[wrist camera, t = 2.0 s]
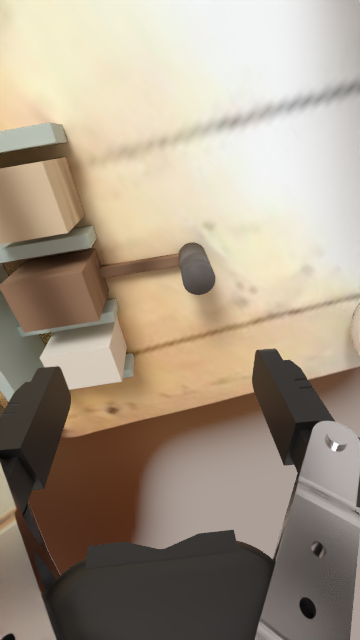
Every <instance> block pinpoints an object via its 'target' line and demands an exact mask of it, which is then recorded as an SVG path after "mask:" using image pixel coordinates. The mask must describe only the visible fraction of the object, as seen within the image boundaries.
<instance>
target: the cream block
mask: <svg viewBox="0 0 360 640" xmlns="http://www.w3.org/2000/svg"><path fill="white" fill-rule="evenodd" d="M126 350H127V346H126V343H125V340H124V337H123V334H122V330H121V327H120V324H119V321H118V318H117V316H116V321H115V322H111V323H105V324H98V325H92V326H86V327H80V328H74V329H67V330H61V331H55V332H53V334H52V336H51V338H50V340H49V341H48V343H47V345H46V347H45V349H44V351H43V353H42V354H41V356H40V360H41V362H42V363H43V365H44V367H55V366H59V367H60V368H61V370H62V372H63V375H64V378H65V380H66V383H67V386H68V389H69V390H71V389H78V388H84V387H90V386H97V385H103V384H109V383H116V382H122V378H123V371H124V364H125V357H126Z"/></svg>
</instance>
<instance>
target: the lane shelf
mask: <svg viewBox="0 0 360 640" xmlns="http://www.w3.org/2000/svg"><path fill="white" fill-rule="evenodd" d="M66 142H67V139H66V136H65V133H64V130H63V127H62V125H61V124H55V123H45V124H39V125H34V126H28V127H22V128H17V129H11V130H5V131H0V154H3V153H8V152H14V151H20V150H26V149H31V148H37V147H43V146H49V145H54V144H60V143H66ZM96 239H97V236H96V233H95V230H94V227H93V226H88V227H82V228H76V229H71V230H70V231H69V232H68V233H65V234H59V235H53V236H47V237H42V238H36V239H30V240H24V241H18V242H12V243H6V244H0V284H1V283H2V282H4V281H5V280H6V279H7V278H8V277H9V275H8V273H7V271H6V270H5V268H4V266H3V264H2V263H3V262H9V261H15V260H21V259H27V258H33V257H39V256H45V255H51V254H57V253H63V252H69V251H75V250H81V249H87V248H91V247H92V245H93V244H94V242H95V240H96ZM118 308H119V307H118V304H117V301H116V298H114V299H108V300H106V301H105V304H104V307H103V310H102V314H101V317H100V320H99V321H94V322H88V323H82V324H76V325H70V326H63V327H57V328H51V329H45V330H38V331H32V332H26V333H24V331H23V329H22V327H21V326H20V324H19V322H18V320H17V318H16V317H15V315H14V313H13V311H12V309H11V308H10V306H9V304H8V302H7V301H6V299H5V297H4V295H3V293H2V292H1V290H0V391H1V392H2V394H3V395H4V396H5V398H6V399H7V401H8V402H9V401H10V399H11V397H12V395H13V394H14V392H15V391H16V390H17V389H18V388H19V387H20V386H22V385H23V384H24V383H25V382H31V380H32V378H33V376H34V374H35V372H36V371H37V369H38V368H43V367H44V365H43V363H42V362H41V360H40V356H41V354H42V353H43V351H44V349H45V347H46V346H45V344H44V342H43V340H42V338H41V336H40V334H43V333H49V332H55V331H61V330H67V329H74V328H80V327H86V326H92V325H98V324H105V323H111V322H115V321H116V316H117V312H118ZM134 363H135V359H134V356H133V353H129V354H126V357H125V364H124V371H123V378H127V377H133V373H134Z"/></svg>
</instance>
